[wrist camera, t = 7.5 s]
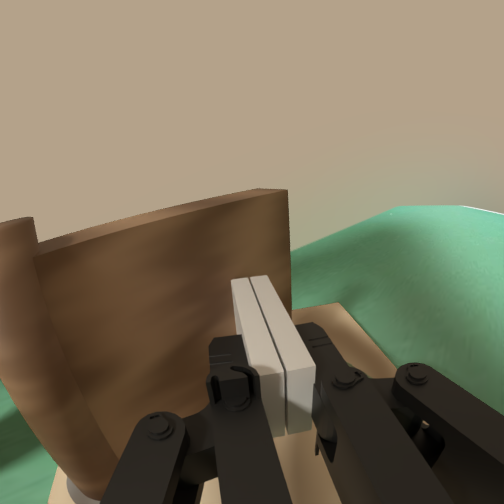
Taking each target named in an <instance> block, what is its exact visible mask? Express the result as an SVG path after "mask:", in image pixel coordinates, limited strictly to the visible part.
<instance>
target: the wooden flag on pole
mask: <svg viewBox="0 0 504 504" xmlns="http://www.w3.org/2000/svg"><path fill="white" fill-rule="evenodd" d="M263 275H267V276H268V278H269V280H270V282H271V284H272V285H273V287H274V289H275V291H276V293H277V295H278V296H279V298H280V300H281V302H282V304H283V306H284V308H285V309H286V311H287V313H288V315H289V317H290V319H291V320H292V301H291V260H290V231H289V208H288V190H284V189H252V190H247V191H242V192H237V193H232V194H227V195H223V196H218V197H213V198H209V199H204V200H200V201H195V202H191V203H186V204H182V205H177V206H173V207H169V208H165V209H160V210H156V211H152V212H148V213H144V214H140V215H136V216H132V217H128V218H125V219H120V220H117V221H113V222H109V223H105V224H102V225H98V226H95V227H91V228H87V229H84V230H80V231H77V232H74V233H70V234H66V235H63V236H60V237H56V238H53V239H50V240H46V241H44V242H40V243H38V240H37V235H36V231H35V225H34V220H33V217H24V218H19V219H14V220H10V221H6V222H2V223H0V378H1V380H2V382H3V384H4V386H5V388H6V389H7V391H8V393H9V395H10V396H11V398H12V400H13V401H14V403H15V405H16V406H17V408H18V410H19V411H20V413H21V414H22V416H23V418H24V419H25V421H26V422H27V424H28V425H29V427H30V428H31V430H32V431H33V432H34V434H35V435H36V437H37V438H38V440H39V441H40V442H41V444H42V445H43V446H44V448H45V449H46V450H47V452H48V453H49V454H50V456H51V457H52V458H53V460H54V461H55V462H56V463H57V465H58V466H59V467H60V468H61V469H62V471H63V472H64V473H65V474H66V475H67V477H68V478H69V479H70V480H71V481H72V482H73V483H74V485H75V486H76V487H77V488H78V489H79V490H80V491H81V492H82V493H83V494H84V495H85V496H87V497H88V498H91V499H93V500H97V501H101V499H102V497H103V495H104V492H105V490H106V488H107V486H108V484H109V481H110V479H111V477H112V475H113V473H114V471H115V468H116V466H117V464H118V462H119V460H120V458H121V455H122V453H123V451H124V449H125V447H126V445H127V443H128V441H129V438H130V436H131V434H132V432H133V430H134V428H135V426H136V424H137V423H138V422H139V421H140V419H142V418H143V417H145V416H146V415H148V414H151V413H154V412H161V411H167V412H171V413H175V414H176V415H178V416H179V417H181V418H185V417H188V416H191V415H193V414H195V413H198V412H200V411H201V410H202V409H204V408H205V407H206V406H207V405H208V404H209V402H210V401H209V396H208V392H207V387H206V383H205V382H206V378H207V375H208V374H209V373H210V364H209V349H208V346H209V345H210V343H211V341H212V340H213V338H215V337H223V336H231V335H237V332H236V323H235V314H234V305H233V296H232V287H231V280H233V279H239V278H247V277H248V279H249V282H250V277H255V276H263Z"/></svg>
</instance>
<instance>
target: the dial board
mask: <svg viewBox="0 0 504 504" xmlns="http://www.w3.org/2000/svg"><path fill="white" fill-rule="evenodd" d="M292 322H293V324H294V325H298V324H304V323H309V322H314V323H315V324H317V325H319V326H320V327H322V328H323V329H324V330H325V332H326V333H327V335H328V337H329V338H330V339H331V341H332V342H333V344H334V345H335V347H336V348H337V349H338V351H339V352H340V354H341V355H342V357H343V358H344V360H345V361H346V363H347V364H348V366H349V367H355V368H357V369H359V370H361V371H363V372H364V373H365V374H366V375H367V376H368V378H394V377H395V374H396V371H397V368H396V367H395V366H394V365H393V364H392V363H391V361H390V360H389V359H388V358H387V357H386V356H385V354H384V353H383V352H382V351H381V350H380V349H379V348H378V346H377V345H376V344H375V343H374V342H373V341H372V340H371V338H370V337H369V336H368V335H367V334H366V333H365V332H364V330H363V329H362V328H361V327H360V326H359V325H358V324H357V323H356V321H355V320H354V319H353V318H352V317H351V316H350V315H349V314H348V312H347V311H346V310H345V309H344V308H343V307H342V306H341V305H340V304H339V302H337V303H332V304H326V305H320V306H314V307H308V308H302V309H296V310H292ZM423 423H424V424H426V425H429V424H427V423H426V422H425V421H424V420H423ZM316 433H317V429H316V427H315V424H314V422H313V420H312V430H309V431H304V432H300V433H295V434H290V435H288V434H287V431H286V428H285V436H280V437H275V438H273V440H274V444H275V447H276V450H277V454H278V457H279V460H280V464H281V467H282V470H283V474H284V477H285V480H286V483H287V487H288V490H289V493H290V496H291V500H292V503H293V504H342V503H341V501H340V498H339V496H338V493H337V491H336V489H335V486H334V484H333V481H332V479H331V476H330V474H329V471H328V469H327V467H326V464H325V462H324V459H323V457H322V454H321V452H320V449H319V455H317V456H315V442H316ZM48 504H100V501H97V500H93V499H91V498H88V497H87V496H85V495H84V494H83V493H82V492H81V491H80V490H79V489H78V488H77V487H76V486H75V485H74V483H73V482H72V481H71V480H70V479H69V478H68V477H67V475H66V474H65V473H64V472H63V471H62V469H61V468H60V467H59V466H58V468H57V471H56V474H55V478H54V481H53V485H52V489H51V492H50V496H49V500H48ZM200 504H221V496H220V489H219V481H218V477H217V478H214V479H212V480H209V481H206V482H204V488H203V492H202V496H201V501H200Z"/></svg>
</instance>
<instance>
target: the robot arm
mask: <svg viewBox="0 0 504 504" xmlns="http://www.w3.org/2000/svg"><path fill="white" fill-rule="evenodd" d="M231 287H232V296H233V305H234V314H235V323H236V332H237V335H231V336H223V337H215V338H213V340H212V341H211V343H210V345H209V346H208V349H209V364H210V373H209V374H208V375H207V378H206V382H205V383H206V387H207V392H208V396H209V401H210V402H209V404H208V405H207V406H206V407H205V408H204V409H202V410H201V411H200V412H198V413H195V414H193V415H191V416H188V417H185V418H181V417H179V416H178V415H176V414H175V413H171V412H167V411H161V412H154V413H151V414H148V415H146V416H145V417H143V418H142V419H140V421H139V422H138V423H137V424H136V426H135V428H134V430H133V432H132V434H131V436H130V438H129V441H128V443H127V445H126V447H125V449H124V451H123V453H122V455H121V458H120V460H119V462H118V464H117V466H116V468H115V471H114V473H113V475H112V477H111V479H110V481H109V484H108V486H107V488H106V490H105V492H104V495H103V497H102V499H101V501H100V504H200V501H201V496H202V492H203V488H204V482H206V481H209V480H212V479H214V478H217V477H218V481H219V489H220V496H221V504H293V503H292V500H291V496H290V493H289V490H288V487H287V483H286V480H285V477H284V474H283V470H282V467H281V464H280V460H279V457H278V454H277V450H276V447H275V444H274V440H273V438H275V437H280V436H285V428H286V431H287V434H288V435H290V434H295V433H300V432H304V431H309V430H312V420H313V422H314V424H315V427H316V429H317V433H316V442H315V456H317V455H319V449H320V452H321V454H322V457H323V459H324V462H325V464H326V467H327V469H328V471H329V474H330V476H331V479H332V481H333V484H334V486H335V489H336V491H337V493H338V496H339V498H340V501H341V503H342V504H504V416H503V415H502V414H500V413H499V412H497V411H496V410H494V409H493V408H491V407H490V406H488V405H487V404H485V403H484V402H482V401H481V400H479V399H478V398H476V397H475V396H473V395H472V394H470V393H469V392H467V391H466V390H464V389H463V388H461V387H460V386H458V385H457V384H455V383H454V382H452V381H451V380H449V379H448V378H446V377H445V376H443V375H442V374H440V373H439V372H437V371H436V370H434V369H433V368H431V367H430V366H427V365H425V364H421V363H407V364H405V365H402V366H401V367H400V368H398V369H397V371H396V374H395V377H394V378H368V376H367V375H366V374H365V373H364V372H363V371H361V370H359V369H357V368H355V367H349V366H348V364H347V363H346V361H345V360H344V358H343V357H342V355H341V354H340V352H339V351H338V349H337V348H336V347H335V345H334V344H333V342H332V341H331V339H330V338H329V337H328V335H327V333H326V332H325V330H324V329H323V328H322V327H320V326H319V325H317V324H315V323H314V322H309V323H304V324H298V325H294V324H293V322H292V320H291V319H290V317H289V315H288V313H287V311H286V309H285V308H284V306H283V304H282V302H281V300H280V298H279V296H278V295H277V293H276V291H275V289H274V287H273V285H272V284H271V282H270V280H269V278H268V276H267V275H263V276H255V277H250V282H249V279H248V277H247V278H239V279H233V280H231ZM423 420H424V421H425V422H426V423H427V424H429V425H426V424H424V423H423Z"/></svg>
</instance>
